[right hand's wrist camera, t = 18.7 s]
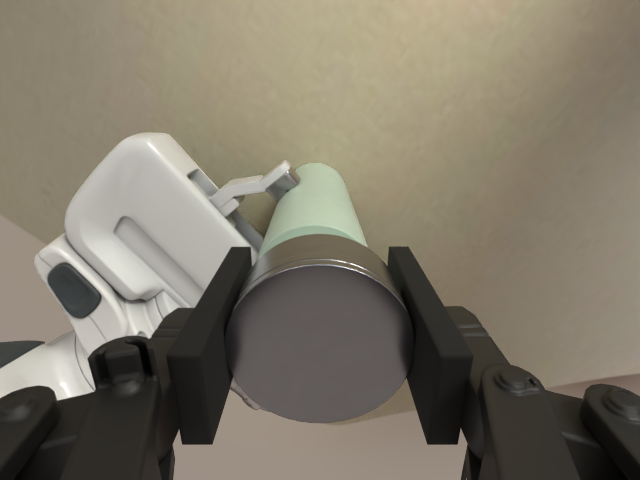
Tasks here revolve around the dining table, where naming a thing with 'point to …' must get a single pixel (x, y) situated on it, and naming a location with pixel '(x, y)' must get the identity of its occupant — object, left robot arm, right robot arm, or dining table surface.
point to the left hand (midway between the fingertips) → (325, 210)
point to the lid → (319, 331)
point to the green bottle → (314, 209)
